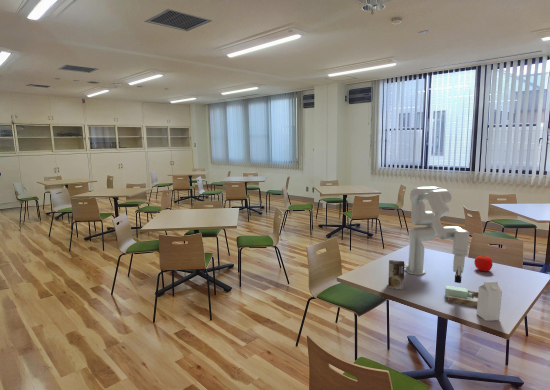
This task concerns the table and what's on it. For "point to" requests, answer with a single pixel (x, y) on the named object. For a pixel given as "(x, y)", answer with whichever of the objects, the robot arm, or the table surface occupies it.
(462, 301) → the brown white flat box
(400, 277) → the coffee box
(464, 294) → the bottle
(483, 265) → the tomato
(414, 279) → the table surface
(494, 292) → the milk carton
